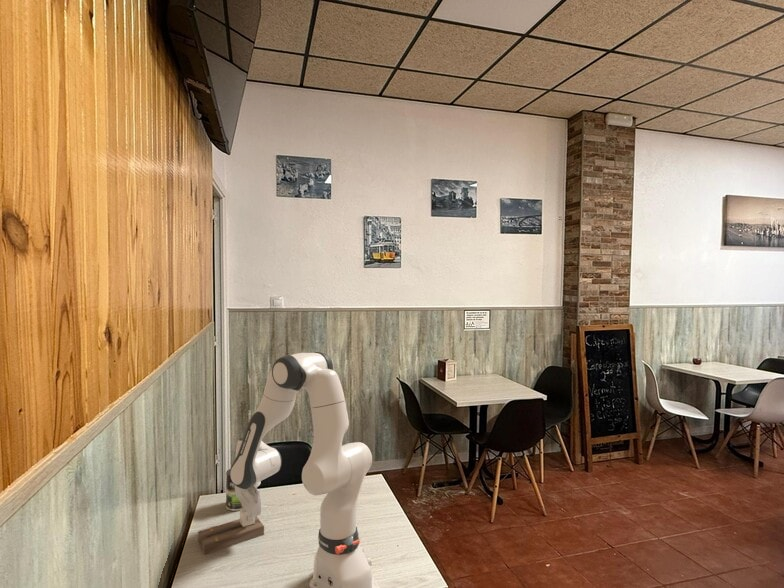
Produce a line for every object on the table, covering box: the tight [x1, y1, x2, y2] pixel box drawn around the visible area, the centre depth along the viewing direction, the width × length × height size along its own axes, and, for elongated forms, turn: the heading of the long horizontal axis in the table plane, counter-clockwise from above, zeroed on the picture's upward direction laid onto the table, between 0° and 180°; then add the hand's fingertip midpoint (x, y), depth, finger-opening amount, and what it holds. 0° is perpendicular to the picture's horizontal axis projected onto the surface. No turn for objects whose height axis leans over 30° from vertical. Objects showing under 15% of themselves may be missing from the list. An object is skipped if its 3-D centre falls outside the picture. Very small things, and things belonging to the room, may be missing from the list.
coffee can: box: [225, 468, 242, 512], centre depth 170 cm, size 10×10×14 cm
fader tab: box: [239, 508, 255, 527], centre depth 151 cm, size 4×4×5 cm
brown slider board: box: [197, 516, 265, 555], centre depth 147 cm, size 10×20×3 cm, turn 126°
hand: (247, 518), depth 151 cm, fingers closed on fader tab, 3 cm apart
